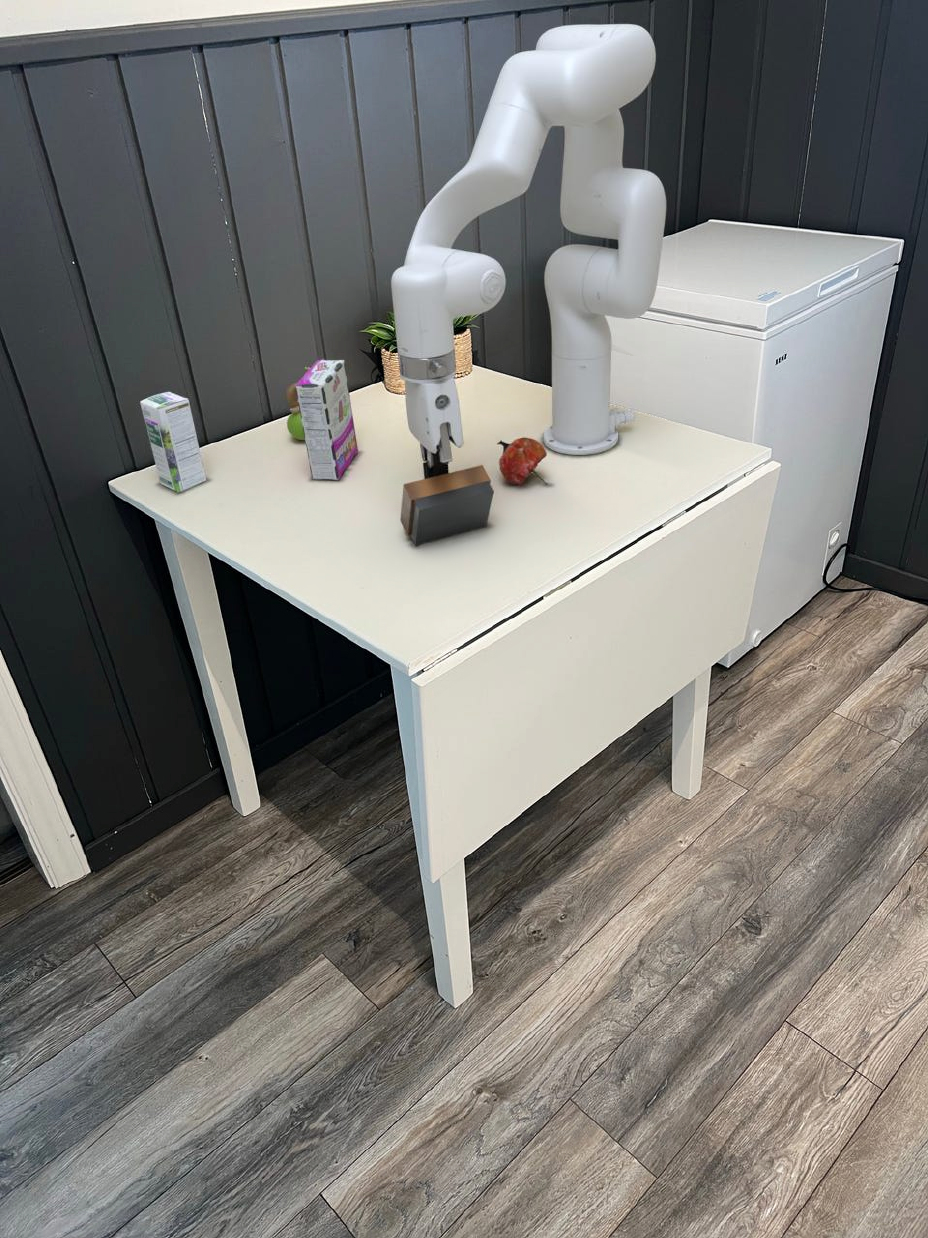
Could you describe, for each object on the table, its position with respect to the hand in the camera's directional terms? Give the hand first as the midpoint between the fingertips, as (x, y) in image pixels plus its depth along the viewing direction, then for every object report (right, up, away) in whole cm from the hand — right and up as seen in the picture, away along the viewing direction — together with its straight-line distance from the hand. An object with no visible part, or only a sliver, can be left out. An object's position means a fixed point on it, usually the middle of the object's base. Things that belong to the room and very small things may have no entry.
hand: (437, 487), depth 136 cm
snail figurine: (-24, +13, +33) cm, 43 cm away
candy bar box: (-18, +7, +23) cm, 30 cm away
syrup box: (-43, +4, +21) cm, 48 cm away
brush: (+1, -5, +2) cm, 5 cm away
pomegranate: (+13, +3, +14) cm, 19 cm away
